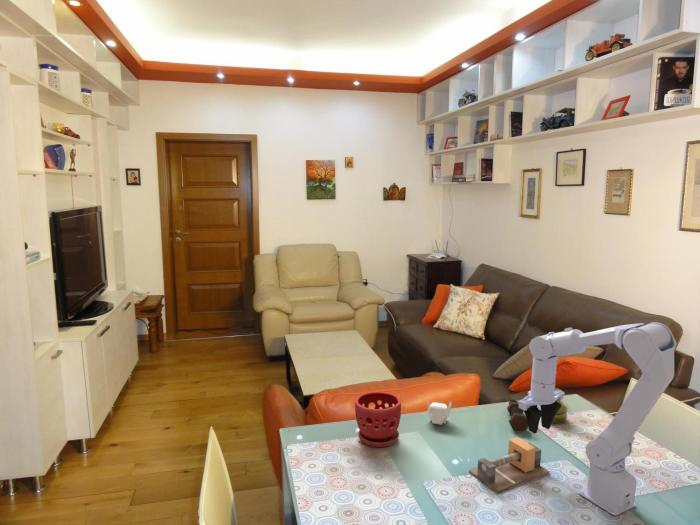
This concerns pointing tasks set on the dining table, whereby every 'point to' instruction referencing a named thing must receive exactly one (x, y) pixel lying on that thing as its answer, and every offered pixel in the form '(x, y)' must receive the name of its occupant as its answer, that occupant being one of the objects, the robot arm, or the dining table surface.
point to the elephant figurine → (438, 412)
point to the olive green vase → (560, 412)
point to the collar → (522, 454)
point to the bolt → (517, 417)
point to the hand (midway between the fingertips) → (539, 429)
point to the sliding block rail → (507, 471)
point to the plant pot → (378, 418)
